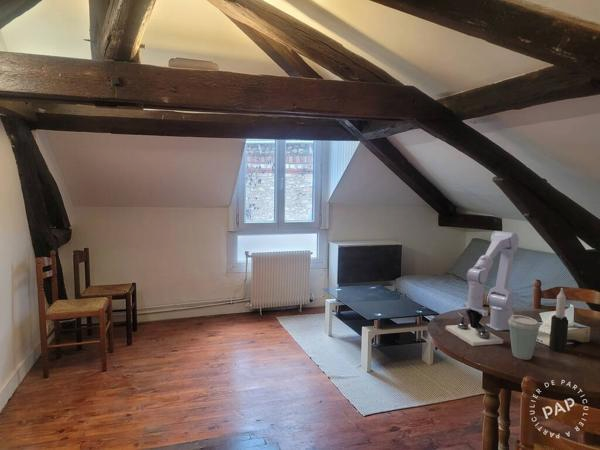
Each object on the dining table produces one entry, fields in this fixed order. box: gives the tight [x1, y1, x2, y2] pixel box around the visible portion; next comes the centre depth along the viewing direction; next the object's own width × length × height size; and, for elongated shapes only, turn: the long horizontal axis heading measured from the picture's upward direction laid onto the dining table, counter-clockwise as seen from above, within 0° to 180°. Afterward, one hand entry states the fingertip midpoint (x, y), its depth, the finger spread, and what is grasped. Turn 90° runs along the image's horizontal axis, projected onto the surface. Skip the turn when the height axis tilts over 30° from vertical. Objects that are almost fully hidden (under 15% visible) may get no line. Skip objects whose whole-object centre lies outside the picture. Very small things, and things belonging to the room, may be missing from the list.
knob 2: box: [475, 321, 491, 339], centre depth 176 cm, size 10×4×4 cm, turn 0°
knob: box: [455, 312, 469, 329], centre depth 187 cm, size 10×4×4 cm, turn 178°
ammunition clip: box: [483, 290, 501, 316], centre depth 208 cm, size 11×2×12 cm, turn 78°
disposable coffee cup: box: [508, 314, 541, 361], centre depth 157 cm, size 11×11×15 cm
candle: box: [549, 287, 569, 354], centre depth 164 cm, size 5×5×25 cm
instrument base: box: [445, 323, 504, 347], centre depth 179 cm, size 14×20×2 cm
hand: (474, 327), depth 178 cm, fingers closed
